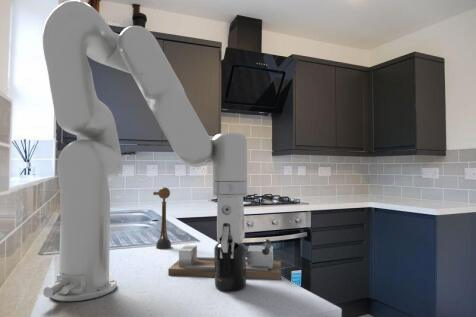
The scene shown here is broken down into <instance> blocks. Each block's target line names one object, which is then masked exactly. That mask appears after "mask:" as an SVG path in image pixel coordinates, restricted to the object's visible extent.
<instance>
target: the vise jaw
mask: <svg viewBox="0 0 476 317" xmlns="http://www.w3.org/2000/svg"><path fill="white" fill-rule="evenodd" d="M271 244H272V243H271V240H270V239H264V241H263V245H249V246H248V249H247V254H246V257H247V267H253V268H268V269H273V261H274V246H273V245H271Z"/></svg>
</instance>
